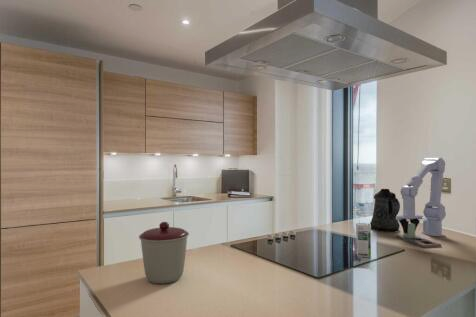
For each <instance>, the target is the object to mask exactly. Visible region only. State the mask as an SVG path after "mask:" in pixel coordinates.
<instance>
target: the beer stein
mask: <svg viewBox="0 0 476 317" xmlns="http://www.w3.org/2000/svg"><path fill="white" fill-rule="evenodd" d="M373 199H374V207H373V213H372V216H371V221H370V222H369V224H370V228H371V230H372V231H375V232H382V233H398V232H399V230H400V226H401V224H400V222H399V220H396V216H398V215H399V212H400V210H401V204H400V201H399V199H398V198H397V196H396V193H395V192H391V191H390V189H389V188H381V189H380V190H379V191H378V192H376V193H375V194H374V195H373Z"/></svg>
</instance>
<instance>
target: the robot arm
mask: <svg viewBox="0 0 476 317" xmlns="http://www.w3.org/2000/svg"><path fill="white" fill-rule="evenodd" d="M445 169H446V161H445V160H444V158H442V157H424V158H423V159H422V161H421V167H420V168H419V170H418V172H417V173H416V175H413V176H411V178H410V179H409V181H408V182H407V183H406V185H403V186H402V187H401V189H400V194H401V198H402V204H403V205H402V209H403V210H402V214H401V215H397V216H396V220H398V223H399V224H400V226H401V228H402V231H403V234H404V233H407V232H408V223H413V224H415V232H416V231H417V227H418V225H419V224H420V223H421V222H420V221H421V220H422V221H423V222H422V231H421V233H422V234H425V235H428V236H431V237H446V236H447V234H444V233H443V220H444V219H445V218H446V215H447V214H446V207H445V205H444V204H442V203H441V200H442V199H441V198H442V192H443V191H442V188H443V178H444V173H445ZM428 173H430V174H431V185H430V193H429V194H430V195H429V201H428V202H427V203H425V205H424V208H423V211H422V212H423V215H421V214H419V215H418V214H416V197H417V196H418V192H419V188H420V186H421V185H422V184H423V182H424V180H423V179H424V177H425V176H426V175H427V174H428ZM423 216H424V217H425V218H423ZM408 220H409V221H408Z"/></svg>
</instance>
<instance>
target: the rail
mask: <svg viewBox="0 0 476 317" xmlns="http://www.w3.org/2000/svg"><path fill="white" fill-rule="evenodd" d="M395 237H396V238H397V239H400V240H402V241H405V242H407V243H410V244H413V245H414V246H418V247H419V248H422V249H424V248H425V249H427V248H442V244H441V243H438V242H436V241H433V240H430V239H427V238H424V237H421V236H418V235H416V234H415V238H407V237H404V234H396V235H395Z"/></svg>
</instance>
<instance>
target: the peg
mask: <svg viewBox="0 0 476 317" xmlns="http://www.w3.org/2000/svg"><path fill="white" fill-rule="evenodd" d="M403 235H404V237H407V238H415V235H416V231H415V224H413V223H410V222H409V223H408V232H407V233H404V232H403Z"/></svg>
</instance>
